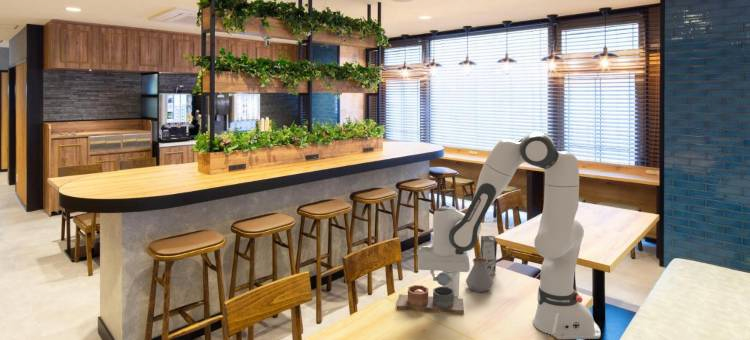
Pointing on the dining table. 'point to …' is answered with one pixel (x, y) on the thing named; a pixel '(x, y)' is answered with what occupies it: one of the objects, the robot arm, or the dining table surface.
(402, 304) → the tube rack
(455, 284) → the cylindrical container
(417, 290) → the terracotta ball
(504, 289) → the dining table surface
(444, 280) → the slate ball
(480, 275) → the coffee pot
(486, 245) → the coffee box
